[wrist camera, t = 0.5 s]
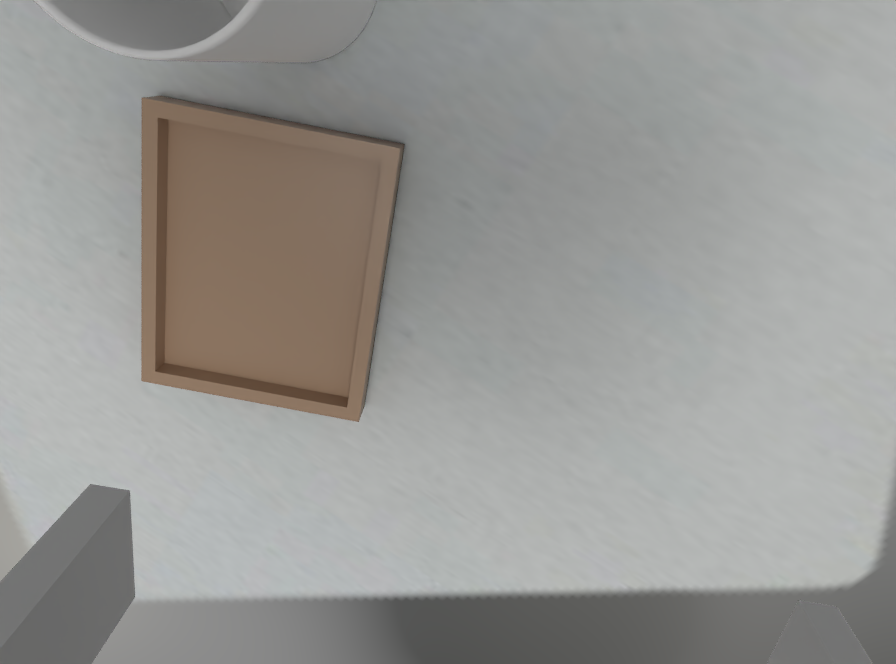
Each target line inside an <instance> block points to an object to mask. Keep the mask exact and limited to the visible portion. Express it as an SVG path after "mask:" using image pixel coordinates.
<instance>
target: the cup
mask: <svg viewBox="0 0 896 664" xmlns="http://www.w3.org/2000/svg"><path fill="white" fill-rule="evenodd" d="M34 1H35V2H36V3H37V4H38V5H39V6H40V7H41V8H42V9H43V10H44V11H45V12H46V13H47V14H48V15H49V16H51V17H52V18H53V19H54V20H55V21H57V22H58V23H59V24H60V25H62V26H63V27H65V28H66V29H67V30H69V31H70V32H72V33H73V34H75V35H77V36H78V37H80V38H82V39H83V40H85V41H87V42H89V43H91V44H93V45H95V46H98V47H100V48H102V49H105V50H108V51H111V52H114V53H117V54H121V55H125V56H129V57H133V58H138V59H145V60H158V61H204V62H275V63H309V62H316V61H320V60H324V59H327V58H329V57H332V56H334V55H336V54H337V53H339V52H341V51H342V50H344V49H345V48H346V47H348V46H349V45H350V44H351V43H352V42H353V41H354V40H355V39H356V38H357V37H358V36H359V34H360V33H361V32H362V30H363V29H364V27H365V26H366V24H367V22H368V20H369V18H370V16H371V14H372V12H373V9H374V6H375V2H376V0H34Z"/></svg>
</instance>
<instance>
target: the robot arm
mask: <svg viewBox="0 0 896 664" xmlns="http://www.w3.org/2000/svg"><path fill="white" fill-rule="evenodd" d="M134 598H135V584H134V564H133V544H132V524H131V504H130V491H129V490H123V489H117V488H111V487H105V486H99V485H93V484H90V485H89V486H88V487H87V488H86V489H85V491H84V492H83V493H82V494H81V495H80V496H79V497H78V498H77V499H76V500H75V501H74V502H73V504H72V505H71V506H70V507H69V508H68V509H67V510H66V511H65V512H64V513H63V514H62V515H61V517H60V518H59V519H58V520H57V521H56V522H55V523H54V524H53V525H52V526H51V527H50V528H49V530H48V531H47V532H46V533H45V534H44V535H43V536H42V537H41V538H40V539H39V540H38V541H37V542H36V544H35V545H34V546H33V547H32V548H31V549H30V550H29V551H28V552H27V553H26V554H25V556H24V557H23V558H22V559H21V560H20V561H19V562H18V563H17V564H16V565H15V566H14V567H13V568H12V570H11V571H10V572H9V573H8V574H7V575H6V576H5V577H4V578H3V579H2V580H1V582H0V664H92V662H93V661H94V659H95V658H96V656H97V655H98V653H99V652H100V650H101V648H102V647H103V645H104V644H105V642H106V641H107V639H108V638H109V636H110V634H111V633H112V632H113V630H114V629H115V627H116V625H117V624H118V622H119V621H120V619H121V618H122V616H123V615H124V613H125V612H126V610H127V609H128V607H129V605H130V604H131V602H132V601H133V599H134ZM767 664H873V663H872V661H871V660H870V658H869V656H868V655H867V653H866V652H865V650H864V649H863V647H862V645H861V644H860V642H859V641H858V639H857V637H856V636H855V635H854V633H853V631H852V630H851V628H850V626H849V625H848V623H847V622H846V620H845V619H844V617H843V615H842V614H841V612H840V611H839V609H838V607H837V606H831V605H825V604H818V603H812V602H806V601H800V600H798V602H797V604H796V606H795V608H794V610H793V612H792V614H791V616H790V618H789V620H788V622H787V624H786V626H785V628H784V630H783V632H782V634H781V636H780V638H779V640H778V642H777V644H776V646H775V648H774V650H773V652H772V654H771V656H770V658H769V660H768V662H767Z"/></svg>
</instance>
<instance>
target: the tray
mask: <svg viewBox="0 0 896 664" xmlns="http://www.w3.org/2000/svg"><path fill="white" fill-rule="evenodd" d="M404 145H405V144H402V143H397V142H392V141H386V140H381V139H376V138H371V137H366V136H361V135H356V134H351V133H346V132H341V131H336V130H331V129H326V128H321V127H316V126H311V125H305V124H300V123H295V122H290V121H285V120H280V119H275V118H270V117H265V116H260V115H255V114H250V113H245V112H240V111H235V110H229V109H224V108H219V107H214V106H209V105H204V104H199V103H194V102H189V101H184V100H179V99H174V98H169V97H164V96H154V97H143V98H142V381H144V382H149V383H155V384H160V385H165V386H171V387H176V388H181V389H187V390H192V391H197V392H203V393H208V394H213V395H219V396H224V397H229V398H235V399H240V400H245V401H251V402H256V403H261V404H267V405H272V406H277V407H283V408H288V409H293V410H299V411H304V412H309V413H315V414H320V415H325V416H331V417H336V418H341V419H347V420H352V421H357V422H359V420H360V417H361V414H362V411H363V408H364V405H365V399H366V392H367V386H368V379H369V373H370V366H371V360H372V353H373V347H374V340H375V334H376V327H377V321H378V314H379V308H380V301H381V295H382V288H383V282H384V275H385V269H386V262H387V256H388V249H389V243H390V236H391V230H392V223H393V217H394V210H395V204H396V197H397V191H398V184H399V178H400V171H401V164H402V158H403V151H404Z"/></svg>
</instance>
